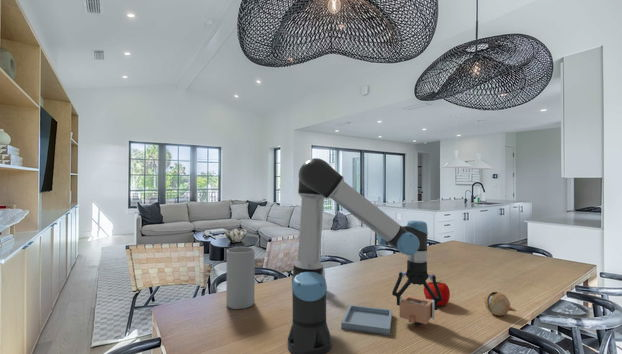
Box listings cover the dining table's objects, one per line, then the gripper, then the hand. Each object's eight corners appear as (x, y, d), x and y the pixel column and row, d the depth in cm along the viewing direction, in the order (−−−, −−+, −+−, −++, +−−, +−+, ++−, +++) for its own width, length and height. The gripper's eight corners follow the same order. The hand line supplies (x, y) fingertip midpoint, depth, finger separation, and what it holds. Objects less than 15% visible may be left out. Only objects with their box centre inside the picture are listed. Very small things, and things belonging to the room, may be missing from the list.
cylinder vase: (226, 311, 135) (226, 253, 136) (226, 300, 147) (226, 247, 148) (255, 308, 138) (255, 251, 139) (253, 298, 151) (253, 246, 151)
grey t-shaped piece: (425, 326, 121) (425, 304, 121) (409, 324, 123) (409, 302, 123) (425, 323, 123) (425, 301, 124) (409, 321, 125) (409, 300, 125)
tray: (389, 335, 114) (389, 328, 114) (341, 328, 119) (341, 322, 119) (392, 315, 131) (392, 309, 131) (349, 310, 136) (349, 304, 136)
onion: (489, 288, 140) (518, 290, 126) (496, 309, 138) (527, 314, 124) (473, 293, 137) (501, 297, 123) (480, 316, 135) (510, 321, 121)
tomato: (451, 301, 146) (451, 279, 146) (448, 311, 135) (447, 287, 135) (426, 297, 152) (426, 275, 152) (421, 306, 141) (420, 283, 141)
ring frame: (433, 315, 124) (433, 300, 124) (424, 326, 115) (425, 309, 115) (408, 309, 130) (408, 294, 130) (398, 318, 120) (398, 303, 121)
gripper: (448, 260, 123) (448, 316, 123) (386, 255, 130) (386, 308, 130) (451, 265, 116) (450, 324, 116) (385, 259, 123) (385, 315, 123)
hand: (416, 315), depth 123 cm, fingers closed on ring frame, 11 cm apart
